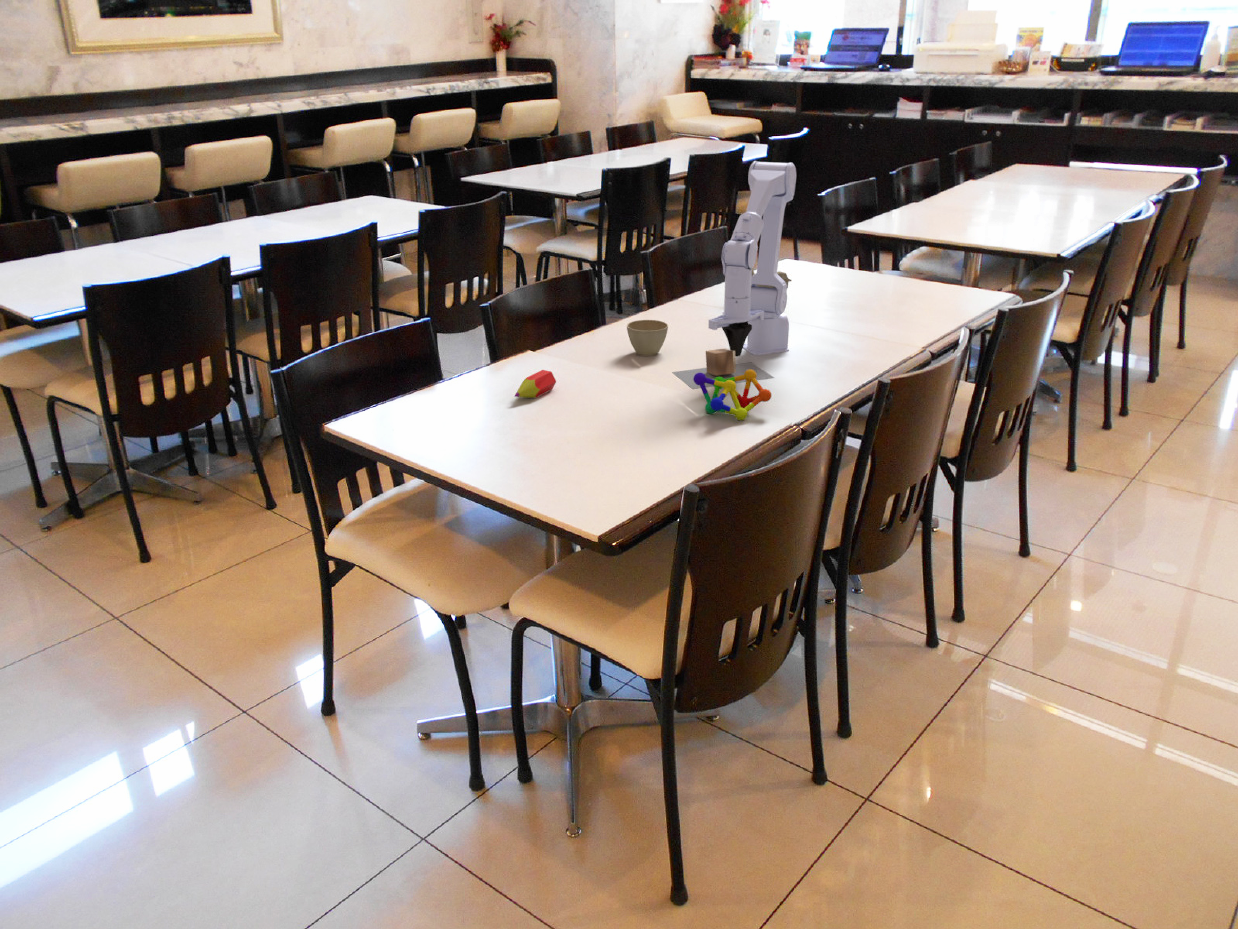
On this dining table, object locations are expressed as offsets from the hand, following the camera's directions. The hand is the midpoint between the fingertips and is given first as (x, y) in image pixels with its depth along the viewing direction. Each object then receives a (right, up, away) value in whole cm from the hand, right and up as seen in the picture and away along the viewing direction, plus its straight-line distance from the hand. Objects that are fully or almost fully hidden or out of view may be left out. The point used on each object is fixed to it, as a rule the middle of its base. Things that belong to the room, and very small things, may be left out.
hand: (735, 355), depth 212 cm
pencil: (-45, -10, -8) cm, 47 cm away
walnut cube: (-1, -1, +2) cm, 2 cm away
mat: (-3, -5, +2) cm, 6 cm away
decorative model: (-3, -14, -19) cm, 24 cm away
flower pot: (-19, +2, +18) cm, 26 cm away
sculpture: (+13, +18, +51) cm, 56 cm away
